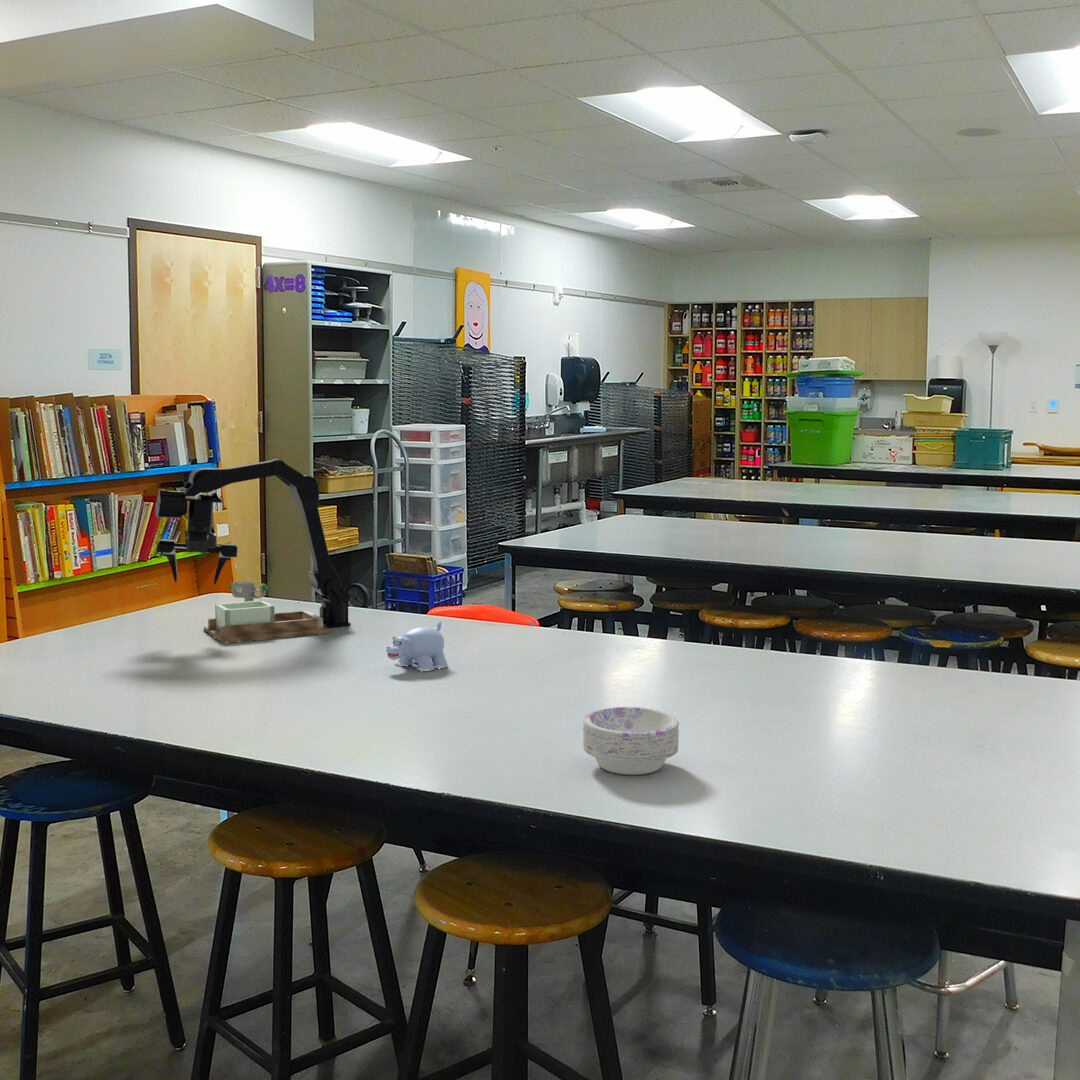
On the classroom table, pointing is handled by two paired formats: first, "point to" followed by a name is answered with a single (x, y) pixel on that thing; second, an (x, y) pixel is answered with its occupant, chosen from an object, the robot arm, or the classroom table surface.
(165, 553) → the robot arm
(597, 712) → the paper bowls
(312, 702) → the classroom table surface
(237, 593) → the mechanical component
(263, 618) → the sage green bevelled box
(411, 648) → the hippopotamus toy
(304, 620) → the wooden serving tray
